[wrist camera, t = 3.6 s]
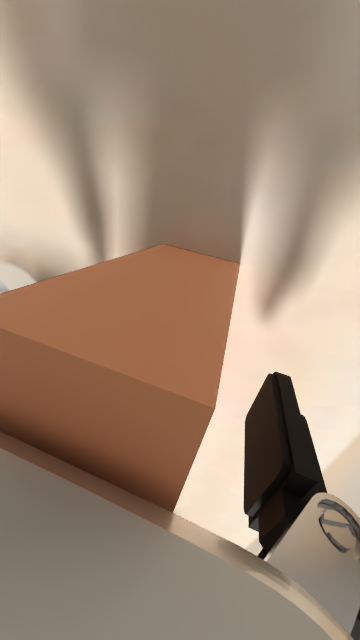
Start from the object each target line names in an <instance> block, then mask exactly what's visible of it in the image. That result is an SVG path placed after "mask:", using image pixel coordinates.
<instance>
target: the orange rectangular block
mask: <svg viewBox="0 0 360 640" xmlns="http://www.w3.org/2000/svg"><path fill="white" fill-rule="evenodd" d="M239 267H240V264H238V263H235V262H231V261H227V260H223V259H219V258H215V257H211V256H208V255H204V254H200V253H196V252H192V251H188V250H184V249H180V248H177V247H173V246H169V245H165V244H161V245H158V246H155V247H151V248H148V249H145V250H141V251H138V252H135V253H132V254H128V255H125V256H122V257H119V258H115V259H112V260H109V261H106V262H102V263H99V264H96V265H93V266H89V267H86V268H83V269H80V270H76V271H73V272H70V273H67V274H63V275H60V276H57V277H53V278H50V279H47V280H44V281H40V282H37V283H34V284H31V285H27V286H24V287H21V288H18V289H14V290H11V291H8V292H5V293H1V294H0V432H2V433H5V434H7V435H9V436H11V437H13V438H15V439H18V440H20V441H22V442H24V443H26V444H28V445H30V446H33V447H35V448H37V449H39V450H41V451H43V452H45V453H47V454H50V455H52V456H54V457H56V458H58V459H60V460H62V461H64V462H67V463H69V464H71V465H73V466H75V467H77V468H79V469H81V470H84V471H86V472H88V473H90V474H92V475H94V476H96V477H98V478H101V479H103V480H105V481H107V482H109V483H111V484H113V485H115V486H117V487H119V488H122V489H124V490H126V491H128V492H130V493H132V494H134V495H136V496H138V497H140V498H142V499H145V500H147V501H149V502H151V503H153V504H155V505H157V506H159V507H161V508H163V509H165V510H168V511H170V512H172V513H173V511H174V508H175V506H176V503H177V501H178V498H179V496H180V493H181V491H182V489H183V486H184V484H185V481H186V479H187V476H188V474H189V471H190V469H191V466H192V464H193V461H194V459H195V457H196V454H197V452H198V449H199V447H200V444H201V442H202V439H203V437H204V434H205V432H206V429H207V427H208V425H209V422H210V420H211V417H212V415H213V412H214V410H215V406H216V400H217V394H218V389H219V383H220V377H221V371H222V365H223V360H224V354H225V348H226V342H227V336H228V331H229V325H230V319H231V313H232V308H233V302H234V296H235V290H236V284H237V279H238V273H239Z"/></svg>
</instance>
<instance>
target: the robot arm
mask: <svg viewBox="0 0 360 640" xmlns="http://www.w3.org/2000/svg"><path fill="white" fill-rule="evenodd" d="M244 512H245V514H247V515H249V528H251V529H253V530H256V531H258V532H259V542H260V544H261V545H262V547H261V549H260V550H259V551H258V553H257V554H256V555H254V554H252V553H250V552H248V551H247V550H245V549H243V548H241V547H240V546H238V545H236V544H234V543H232V542H230V541H228V540H226V539H224V538H222V537H220V536H218V535H216V534H214V533H212V532H210V531H208V530H206V529H204V528H202V527H200V526H198V525H196V524H194V523H192V522H190V521H188V520H186V519H184V518H182V517H180V516H178V515H176V514H174V513H172V512H170V511H168V510H165V509H163V508H161V507H159V506H157V505H155V504H153V503H151V502H149V501H147V500H145V499H142V498H140V497H138V496H136V495H134V494H132V493H130V492H128V491H126V490H124V489H122V488H119V487H117V486H115V485H113V484H111V483H109V482H107V481H105V480H103V479H101V478H98V477H96V476H94V475H92V474H90V473H88V472H86V471H84V470H81V469H79V468H77V467H75V466H73V465H71V464H69V463H67V462H64V461H62V460H60V459H58V458H56V457H54V456H52V455H50V454H47V453H45V452H43V451H41V450H39V449H37V448H35V447H33V446H30V445H28V444H26V443H24V442H22V441H20V440H18V439H15V438H13V437H11V436H9V435H7V434H5V433H2V432H0V640H360V518H359V517H358V516H357V515H356V513H355V512H354V511H353V510H352V509H351V508H350V507H349V506H348V505H346V504H345V503H344V502H343V501H342V500H340V499H339V498H337V497H335V496H333V495H331V494H328V493H327V491H326V487H325V484H324V480H323V477H322V473H321V470H320V466H319V463H318V459H317V456H316V452H315V449H314V445H313V442H312V438H311V435H310V431H309V428H308V424H307V421H306V419H305V417H304V416H303V415H301V414H300V411H299V407H298V403H297V399H296V395H295V392H294V388H293V384H292V380H291V378H290V376H287V375H284V374H281V373H278V372H274V373H273V374H268V376H267V378H266V380H265V381H264V383H263V385H262V387H261V389H260V391H259V393H258V395H257V397H256V399H255V400H254V402H253V404H252V406H251V408H250V410H249V412H248V414H247V416H246V420H245V462H244Z"/></svg>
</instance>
